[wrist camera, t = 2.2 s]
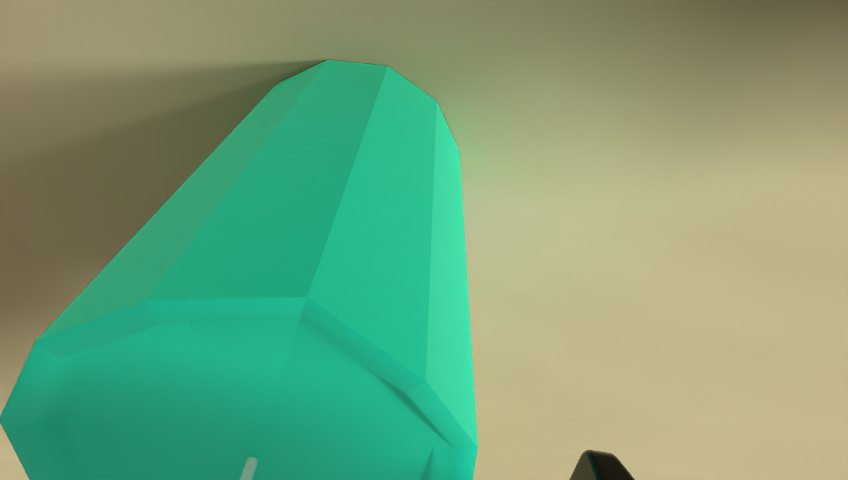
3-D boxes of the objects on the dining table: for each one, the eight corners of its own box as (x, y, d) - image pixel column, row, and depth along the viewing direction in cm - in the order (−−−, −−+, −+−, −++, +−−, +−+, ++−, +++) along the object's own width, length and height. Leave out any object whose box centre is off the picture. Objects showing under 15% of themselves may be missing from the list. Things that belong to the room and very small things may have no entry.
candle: (417, 281, 18) (380, 779, 8) (228, 219, 17) (-94, 690, 7) (494, 106, 15) (600, 526, 5) (274, 22, 14) (-155, 320, 4)
